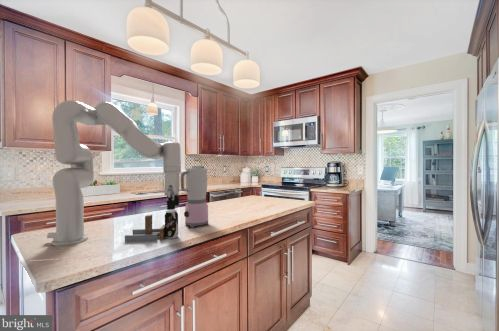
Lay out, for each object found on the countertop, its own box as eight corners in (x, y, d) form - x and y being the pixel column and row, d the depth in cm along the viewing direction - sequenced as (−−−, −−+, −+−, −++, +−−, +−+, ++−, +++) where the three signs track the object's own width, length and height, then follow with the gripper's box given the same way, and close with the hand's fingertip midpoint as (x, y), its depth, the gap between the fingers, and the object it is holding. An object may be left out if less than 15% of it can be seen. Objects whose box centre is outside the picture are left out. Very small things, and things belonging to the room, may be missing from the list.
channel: (124, 242, 100) (124, 235, 100) (133, 235, 109) (133, 229, 109) (156, 241, 101) (156, 234, 101) (162, 234, 111) (162, 228, 111)
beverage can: (180, 237, 107) (180, 210, 107) (168, 240, 103) (168, 212, 103) (174, 234, 111) (173, 209, 111) (162, 237, 107) (162, 211, 107)
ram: (143, 240, 102) (143, 217, 102) (148, 235, 109) (148, 213, 109) (163, 239, 103) (162, 216, 103) (166, 234, 110) (166, 213, 110)
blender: (200, 220, 138) (199, 165, 137) (213, 224, 129) (212, 165, 129) (175, 226, 126) (174, 166, 126) (187, 230, 118) (187, 166, 117)
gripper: (167, 169, 115) (169, 204, 115) (158, 170, 98) (159, 211, 98) (183, 168, 116) (184, 203, 116) (177, 169, 98) (178, 210, 99)
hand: (173, 207), depth 107 cm, fingers open, 9 cm apart
